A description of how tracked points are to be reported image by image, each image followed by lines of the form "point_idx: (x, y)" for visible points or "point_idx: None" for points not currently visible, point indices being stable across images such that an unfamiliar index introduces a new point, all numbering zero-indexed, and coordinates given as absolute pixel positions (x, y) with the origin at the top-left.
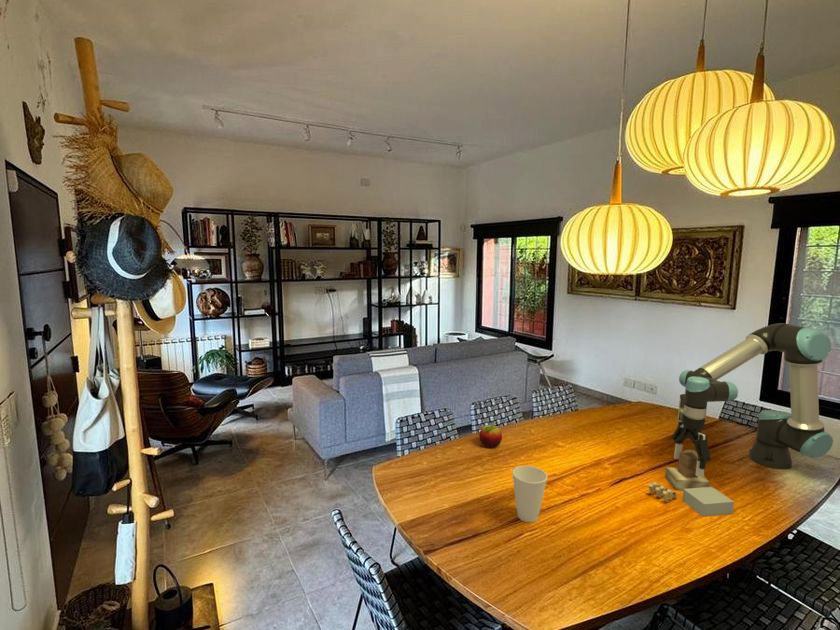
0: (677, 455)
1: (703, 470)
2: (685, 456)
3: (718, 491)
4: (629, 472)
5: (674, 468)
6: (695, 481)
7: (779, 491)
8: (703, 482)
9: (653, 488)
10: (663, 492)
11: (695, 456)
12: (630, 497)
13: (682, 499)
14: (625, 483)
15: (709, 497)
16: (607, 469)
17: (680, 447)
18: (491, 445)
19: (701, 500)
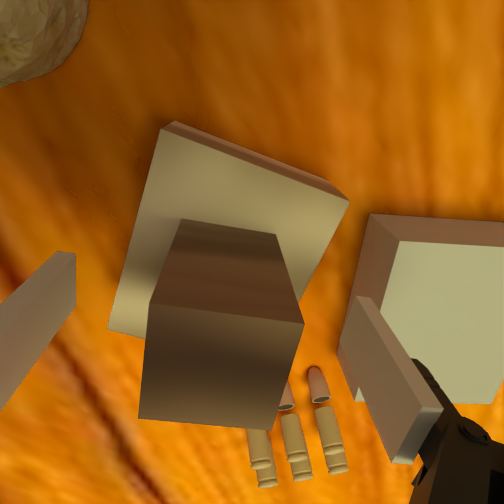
0: (60, 310)
1: (386, 332)
2: (226, 423)
3: (456, 247)
4: (66, 411)
5: (130, 292)
6: (307, 280)
7: None
8: (329, 236)
9: (274, 464)
10: (335, 473)
11: (246, 334)
12: (259, 494)
13: (338, 358)
14: (163, 466)
15: (468, 342)
16: (37, 471)
17: (9, 351)
18: None
19: (464, 394)
